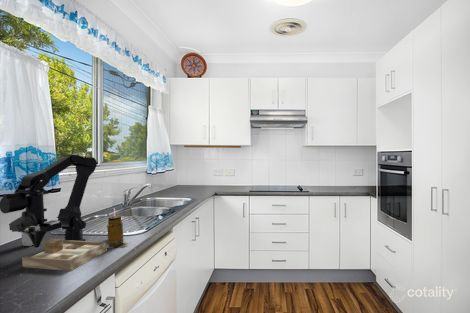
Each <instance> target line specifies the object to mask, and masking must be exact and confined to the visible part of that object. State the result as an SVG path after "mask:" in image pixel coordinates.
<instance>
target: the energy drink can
mask: <svg viewBox="0 0 470 313" xmlns="http://www.w3.org/2000/svg"><path fill="white" fill-rule="evenodd" d="M22 213H23V211H21V215H20V217H22ZM21 243H22V245H23V247H24V246H29V247H33V246H32V245H33V243H32V241H31V239H30V237H29V236H28V235H27V234H25V233H22V232H21Z"/></svg>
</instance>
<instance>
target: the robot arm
mask: <svg viewBox="0 0 470 313" xmlns="http://www.w3.org/2000/svg"><path fill="white" fill-rule="evenodd" d="M71 166H74V167H75V173H76V178H75V180H74V183H73V187H72V189H71V193H70V196H69V199H68V202H67V205H66V206H65V207H64V208H60V209H59V212H58V215H57V217H56V218H57V220H50V221H48V218H45V212H47V210H48V208H47V207H46V208H45V205H44V204H45V203H44V195H48V194H49V193H50V192H49V191H48V190H46V189H45V187H46V186H47V185H48V184H49V183H50V181H51V179H52V178H54V177H55V176H56V175H58V174H60V173H61V172H63V171H65V169H67V168H69V167H71ZM97 167H98V161H97V160H96V158H95V157H91V156H90V157H89V156H87V157H86V156H82V155H78V154H75V153H69V154H68V153H67V154H65V155H64V156H62V157H61V158H59V159H58V160H56V161H54V162H53V163H52V164H50V165H48V166H46V167H45V168H43V169H41V170H39V171H34V172H32V173H28V174H26V175H24V176H23V177H22V178H21V180H20V183H19V185H18V186H17V188H16V189H15V191H14V192H12V193H3V194H2V197H1V199H0V212H1V213H2V214H9V213H15V212H18V211H22V212H23V213H22V212H21V215H22V217H21V216H20V217H18V218H15V219H14V220H13V221H11V222H9V224H8V226H9V231H11V232H13V233H15V232H18V233H21V234H22V233H25V234H27V235H28V236H29V237H30V239H31V241H32V243H33V245H34V246H33V247H34V248H39V247H40V245H41V243H42V241H43V239H44V237H45V235H46V234H47V233H49V232H53V231H55V230H57V229H61V230H64V233H65V234H64V240H72V241H87V240H86V238H83V237H84V236H83V235H84V234H83V229H85V228H86V226H87V222H86V221H84V219H82V212H81V204H82V202H83V201H82V200H83V197H84V195H85V191H86V187H87V184H88V182H89V178H90V177H91V175H92V174H93V173H94V172H95V170H96V168H97Z"/></svg>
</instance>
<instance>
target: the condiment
mask: <svg viewBox="0 0 470 313" xmlns="http://www.w3.org/2000/svg"><path fill="white" fill-rule="evenodd" d="M121 217H122V216H121V215H115V216H114V215H113V216H109V217H108V218H107V226H106V227H107V249H110V248H111V249H113V248H123V247H127V246H128V245H129V244H130V243H131V240H124V227H123V226H124V225H123V219H122V220H121Z"/></svg>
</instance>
